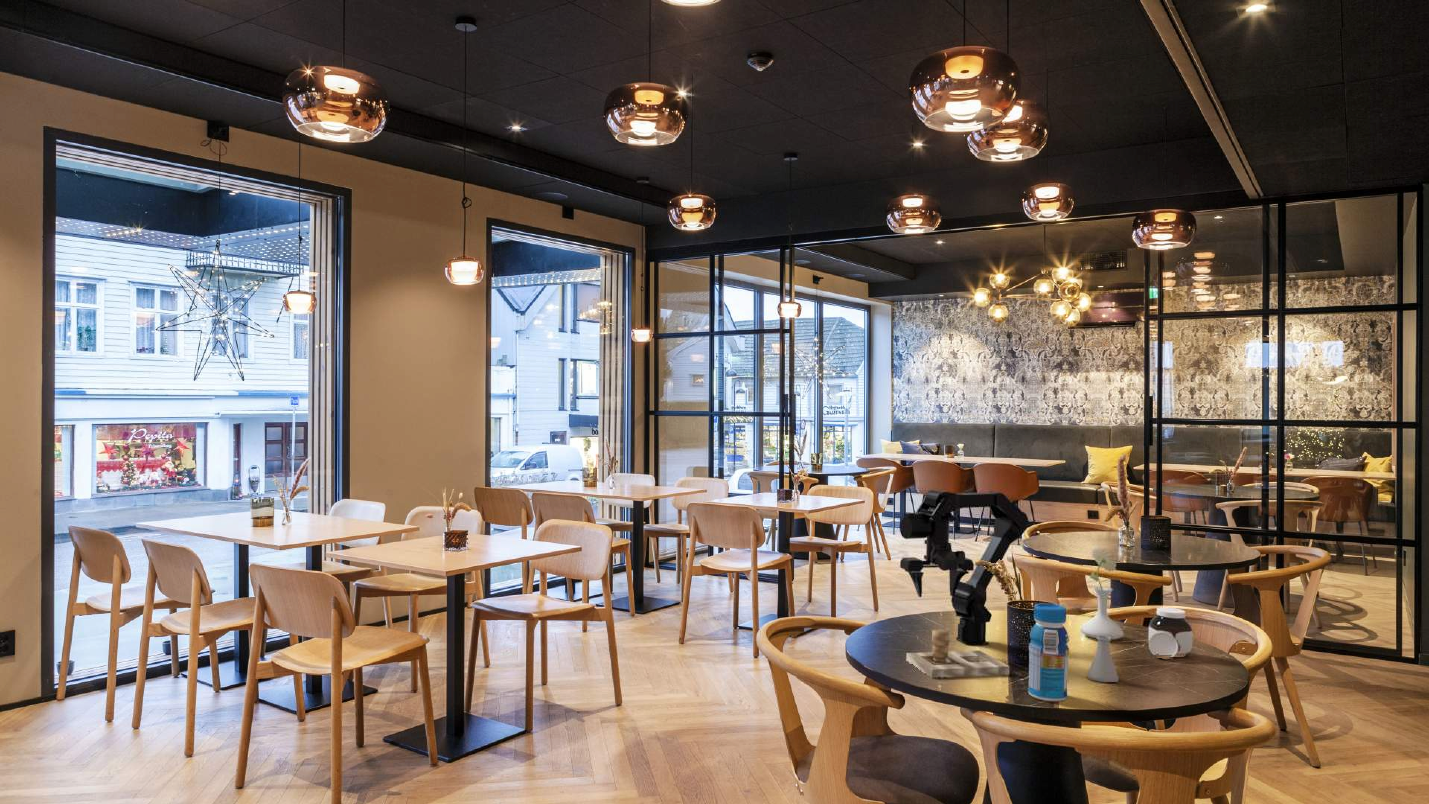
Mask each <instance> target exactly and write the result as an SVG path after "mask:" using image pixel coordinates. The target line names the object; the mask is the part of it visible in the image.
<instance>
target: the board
mask: <svg viewBox="0 0 1429 804" xmlns="http://www.w3.org/2000/svg"><path fill="white" fill-rule="evenodd" d="M933 659H934V657H933V656H932V651H931V652H929V651H927V652H906V662H907V661H908V662H909V663H908V662H907V663H908V664H910V665H911V664H913V665H914V666H915V667H914V666H913V665H912V666H913V667H914V668H916V667H917V668H918V671H920V670H921V671H920V672H922V673H924V674H925V673H926V674H927V675H926V674H925V675H926V676H928V677H929V676H930V677H929V678H931V679H939V678H938V677H941V678H942V679H943V677H947V678H965V677H988V676H989V677H990V676H1009V675H1010V665H1007V664H1006V663H1004V662H1001V661H1000V660H998V659H996V658H994V657H993V656H991V655H989V654H987V653H985V652H983V651H981V650H958V651H954V650H952V651H948V657H947V658H946V663H934V662H933ZM917 668H916V669H917ZM941 678H940V679H941Z"/></svg>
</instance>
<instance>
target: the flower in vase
mask: <svg viewBox="0 0 1429 804" xmlns="http://www.w3.org/2000/svg"><path fill="white" fill-rule="evenodd" d="M1091 550H1092V552H1091V553H1092V556H1091V557H1093V558H1094V561H1095V562H1096V563H1097V565H1098V568H1097V571H1096V574H1095V573H1094V572H1091V574H1090V576H1089V578H1090V579H1092V580H1094V581H1096V582H1098V583H1099V584H1098V585H1099V586H1093V587H1092V588H1093V590H1094V592H1095V594H1096V596H1097V597H1096V598H1097V612H1096V614H1095V615H1094V617H1092V618H1090V619H1089V620H1087V621H1085V622H1084V623H1083V624H1081V626H1080V628H1079V630H1080V632H1081V634H1083V635H1085V636H1087V637H1089V638H1093V639H1097V636H1108V637H1110V638H1111V640H1118V639H1120V638H1123V637H1124V635H1125V633H1124V630H1122V628H1121V626H1119V625H1118V624H1117V623H1116V622H1114V620H1113V619H1111V618H1110V616H1109V614H1108V599H1109V596H1110V594H1111V593H1112V591H1113V590H1114V589H1113V588H1111V587H1107V586H1106V587H1105V586H1102V583H1105V582H1106V581H1109V580H1111V578H1112V577H1109V578H1108V579H1105V580H1102V581H1101V580H1100V579H1099V570H1100V568H1102V569H1104V570H1105V571H1108V572H1113V571H1116V570H1117V568H1116V567H1117V563H1116V560H1115V559H1114V555H1113V554H1111V553H1110V552H1109V551H1107V549H1106V548H1102V547H1101V546H1097V547H1093V549H1091Z"/></svg>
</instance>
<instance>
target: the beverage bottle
mask: <svg viewBox="0 0 1429 804" xmlns="http://www.w3.org/2000/svg"><path fill="white" fill-rule="evenodd" d="M1033 619H1034V621H1035V623H1034V625H1033V626H1032V628H1031V630H1030V632H1029V638H1030V642H1029V644H1028V651H1029V653H1028V657H1029V658H1028V659H1029V660H1028V661H1029V662H1028V687H1027V688H1028V689H1027V692H1028V694H1029V695H1030V696H1031V697H1032V698H1035V699H1037V700H1041V701H1045V702H1062V700H1063V701H1066V699H1067V698H1068V676H1069V675H1068V673H1069V656H1070V648H1069V646H1068V643H1069V641H1070V637H1069V634H1068V631H1067V629H1066V627H1065V626H1064V625H1065V624H1066V621H1067V608H1066V607H1065V606H1064V605H1060V604H1056V603H1046V602H1045V603H1043V602H1042V603H1037V604H1035V605H1034V606H1033Z"/></svg>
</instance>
